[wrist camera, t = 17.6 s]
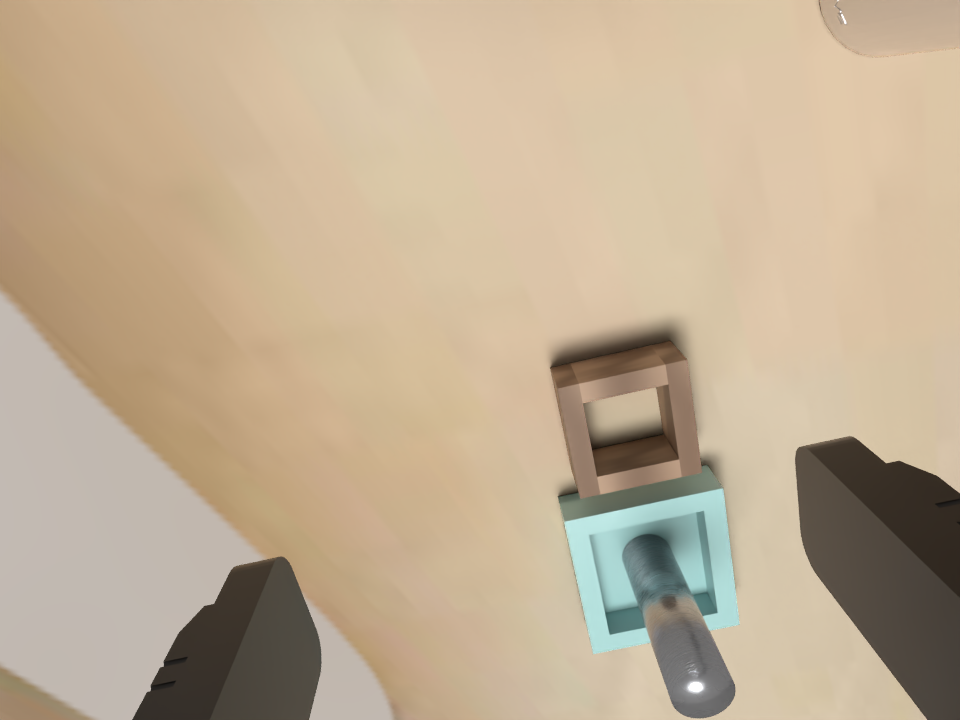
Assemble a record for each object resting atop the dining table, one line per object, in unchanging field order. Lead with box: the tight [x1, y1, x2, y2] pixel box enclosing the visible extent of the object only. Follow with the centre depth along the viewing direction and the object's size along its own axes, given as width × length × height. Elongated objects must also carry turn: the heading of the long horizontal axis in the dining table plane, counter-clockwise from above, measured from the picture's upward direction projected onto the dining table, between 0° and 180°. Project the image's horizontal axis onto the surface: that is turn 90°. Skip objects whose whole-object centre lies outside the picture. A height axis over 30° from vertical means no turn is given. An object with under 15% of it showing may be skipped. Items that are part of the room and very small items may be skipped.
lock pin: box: [622, 534, 735, 718], centre depth 49 cm, size 4×4×14 cm
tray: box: [558, 465, 740, 654], centre depth 55 cm, size 12×13×4 cm
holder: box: [550, 341, 702, 499], centre depth 50 cm, size 9×9×4 cm
